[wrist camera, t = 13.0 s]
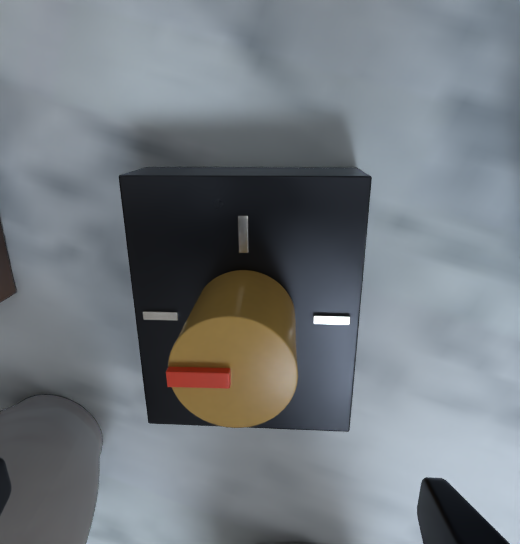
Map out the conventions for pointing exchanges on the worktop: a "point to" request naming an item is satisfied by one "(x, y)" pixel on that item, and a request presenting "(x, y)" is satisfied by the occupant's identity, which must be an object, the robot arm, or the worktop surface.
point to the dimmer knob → (237, 351)
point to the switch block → (5, 271)
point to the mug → (49, 471)
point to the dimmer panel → (254, 257)
